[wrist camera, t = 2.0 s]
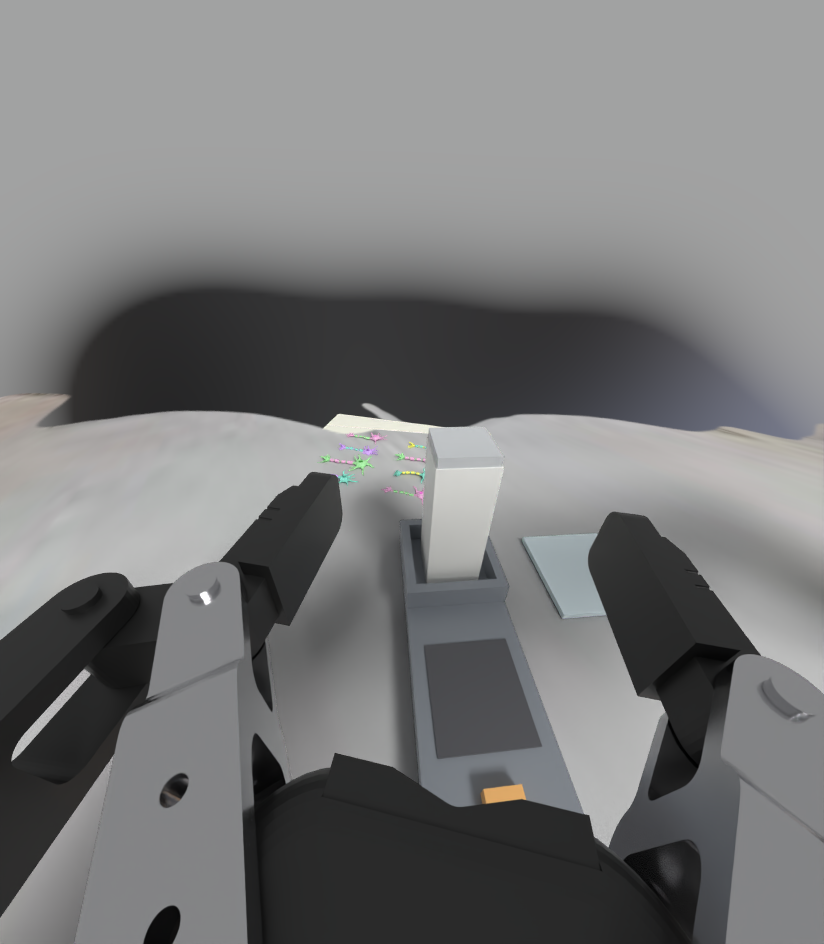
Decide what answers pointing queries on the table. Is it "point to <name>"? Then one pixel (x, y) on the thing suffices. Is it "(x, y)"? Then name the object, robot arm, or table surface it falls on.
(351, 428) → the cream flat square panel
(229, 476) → the table surface
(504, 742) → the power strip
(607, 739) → the table surface
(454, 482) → the block
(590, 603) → the mat
